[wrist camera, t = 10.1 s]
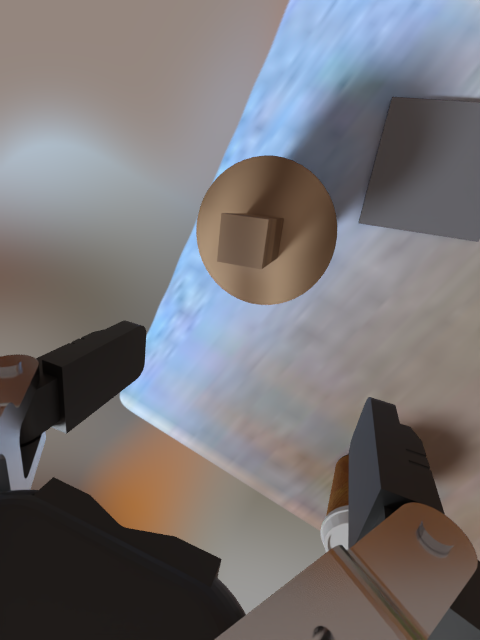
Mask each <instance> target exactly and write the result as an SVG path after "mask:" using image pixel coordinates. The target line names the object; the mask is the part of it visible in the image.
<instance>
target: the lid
mask: <svg viewBox="0 0 480 640" xmlns="http://www.w3.org/2000/svg"><path fill="white" fill-rule="evenodd" d="M336 239H337V219H336V213H335V209H334V205H333V203H332V200H331V198H330V196H329V194H328V192H327V191H326V189H325V187H324V186H323V184H322V183H321V182H320V181H319V179H318V178H317V177H316V176H315V175H314V174H313V173H312V172H311V171H309V170H308V169H306V168H305V167H304V166H302V165H300V164H298V163H296V162H294V161H292V160H289V159H286V158H283V157H277V156H259V157H252V158H249V159H246V160H243V161H241V162H238V163H236V164H234V165H233V166H231V167H230V168H228V169H227V170H225V171H224V172H223V173H222V174H221V175H220V176H219V177H218V178H217V179H216V180H215V181H214V182H213V184H212V185H211V186H210V188H209V189H208V191H207V193H206V195H205V197H204V198H203V201H202V204H201V206H200V210H199V214H198V219H197V244H198V248H199V253H200V256H201V258H202V261H203V263H204V265H205V267H206V269H207V271H208V272H209V274H210V275H211V277H212V278H213V279H214V281H215V282H216V283H217V284H218V285H219V286H220V287H221V288H222V289H224V290H225V291H226V292H228V293H229V294H231V295H232V296H234V297H236V298H238V299H240V300H243V301H245V302H249V303H253V304H260V305H272V304H279V303H283V302H287V301H290V300H292V299H295V298H296V297H298V296H300V295H302V294H304V293H305V292H306V291H308V290H309V289H310V288H311V287H312V286H313V285H314V284H315V283H316V282H317V281H318V280H319V279H320V278H321V276H322V275H323V274H324V272H325V271H326V269H327V267H328V265H329V263H330V261H331V259H332V256H333V253H334V249H335V245H336Z"/></svg>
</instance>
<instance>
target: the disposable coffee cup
mask: <svg viewBox="0 0 480 640" xmlns="http://www.w3.org/2000/svg"><path fill="white" fill-rule="evenodd" d="M348 506H349V455H347V456H344V457H342V458H341V459H340V460H339V461H338V462H337V464H336V467H335V473H334V479H333V484H332V489H331V494H330V499H329V504H328V510H327V515H326V518H325V519H324V521H323V523H322V525H321V531H320V534H321V539H322V542H323V544H324V546H325V551H326V552H328V551H329V550H330V549H332V548H333V547H335V546H337V545H343V547H344V548H345V549H346V550H348Z"/></svg>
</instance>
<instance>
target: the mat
mask: <svg viewBox="0 0 480 640" xmlns="http://www.w3.org/2000/svg"><path fill="white" fill-rule="evenodd" d="M359 223H361V224H367V225H373V226H380V227H386V228H393V229H399V230H406V231H412V232H419V233H425V234H432V235H438V236H445V237H451V238H457V239H464V240H470V241H477V242H478V241H479V239H480V102H465V101H449V100H433V99H418V98H402V97H392V99H391V103H390V107H389V110H388V114H387V118H386V122H385V125H384V129H383V133H382V137H381V140H380V144H379V148H378V152H377V155H376V159H375V163H374V167H373V170H372V174H371V178H370V182H369V185H368V189H367V193H366V197H365V200H364V204H363V208H362V211H361V215H360V219H359Z"/></svg>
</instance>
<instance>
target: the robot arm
mask: <svg viewBox="0 0 480 640" xmlns="http://www.w3.org/2000/svg"><path fill="white" fill-rule="evenodd" d="M145 346H146V330H145V327H144V326H141V325H138V324H135V323H132V322H128V321H122V322H120V323H118V324H116V325H113V326H111V327H109V328H107V329H105V330H101V331H96V332H92V333H91V334H88V335H86V336H84V337H82V338H81V339H77V340H75V341H73V342H72V343H71V344H70V343H69V344H67V345H64V346H62V347H60V348H58V349H56V350H53V351H51V352H49V353H47V354H45V355H43V356H41V357H38V358H34V357H31V356H28V355H6V356H1V357H0V640H480V561H478V560H477V555H476V552H475V549H474V547H473V545H472V543H471V542H470V540H469V539H468V537H467V536H466V534H465V533H464V532H463V531H462V530H461V529H460V528H459V527H458V525H457V524H455V523H454V522H453V521H452V520H451V519H450V518H448V517H447V516H446V515H445V514H444V511H443V507H442V504H441V501H440V498H439V495H438V491H437V488H436V485H435V482H434V479H433V476H432V472H431V470H429V469H430V466H429V463H428V460H427V458H426V453H425V450H424V447H423V444H422V441H421V440H420V439H419V437H418V436H417V435H416V434H415V432H414V431H413V430H412V429H411V427H409V426H406V425H402V424H400V423H399V418H398V414H397V410H396V406H395V405H394V404H390V403H387V402H384V401H381V400H378V399H374V398H371V397H369V398H368V399H367V401H366V403H365V405H364V408H363V410H362V413H361V416H360V418H359V421H358V424H357V426H356V429H355V431H354V434H353V437H352V440H351V444H350V449H349V506H348V550H346V549H345V548H344V547H343V545H337V546H335V547H333V548H332V549H330V550H329V551H328V552H326V553H325V554H324V555H323V556H321V557H320V558H319V559H317V560H316V561H315V562H314V563H312V564H311V565H310V566H308V567H307V568H306V569H305V570H303V571H302V572H301V573H299V574H298V575H297V576H296V577H295V578H293V579H292V580H291V581H289V582H288V583H287V584H285V585H284V586H283V587H281V588H280V589H279V590H278V591H276V592H275V593H274V594H272V595H271V596H270V597H269V598H267V599H266V600H265V601H263V602H262V603H261V604H260V605H258V606H257V607H256V608H254V609H253V610H252V611H251V612H249V613H248V614H247V615H246V614H245V612H244V610H243V609H242V607H241V606H240V604H239V603H238V601H237V599H236V598H235V597H234V595H233V594H232V593H231V592H230V591H229V590H228V588H227V587H226V586H225V585H224V584H223V583H222V582H221V581H220V580H219V579H218V578H217V577H218V572H219V568H220V563H221V559H220V558H218V557H216V556H214V555H212V554H210V553H208V552H206V551H204V550H201V549H199V548H197V547H195V546H193V545H191V544H189V543H187V542H185V541H183V540H181V539H179V538H177V537H174V536H169V535H163V534H157V533H152V532H146V531H140V530H135V529H129V528H125V527H123V526H121V525H120V524H118V523H117V522H116V521H115V520H114V519H113V518H112V517H111V516H110V515H109V514H108V513H107V512H106V511H105V510H104V509H103V508H102V507H101V506H100V505H99V504H98V503H97V502H96V501H95V500H94V499H93V498H92V497H91V496H90V495H89V494H87V493H85V492H82V491H81V490H79V489H76V488H74V487H72V486H70V485H68V484H66V483H64V482H62V481H60V480H58V479H56V478H54V477H53V478H52V479H51V480H50V481H49V482H48V483H47V484H45V485H44V486H43V487H42V488H41V489H40V490H30V489H31V485H32V482H33V479H34V475H35V472H36V469H37V466H38V463H39V459H40V456H41V453H42V449H43V446H44V443H45V439H46V436H45V431H46V430H48V429H49V428H50V427H52V428H54V429H57V430H59V431H61V432H64V433H68V432H69V431H70V430H72V429H73V428H74V427H75V426H77V425H78V424H79V423H81V422H82V421H83V420H85V419H86V418H87V417H88V416H90V415H91V414H92V413H94V412H95V411H96V410H97V409H99V408H100V407H101V406H103V405H104V404H105V403H106V402H108V401H109V400H110V399H111V398H113V397H114V396H116V395H117V394H118V393H119V392H121V391H122V390H123V389H125V388H126V387H127V386H128V385H130V384H131V383H132V382H134V381H135V380H136V379H137V378H138V377H139V376H140V374H141V373H142V371H143V368H144V364H145Z"/></svg>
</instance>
